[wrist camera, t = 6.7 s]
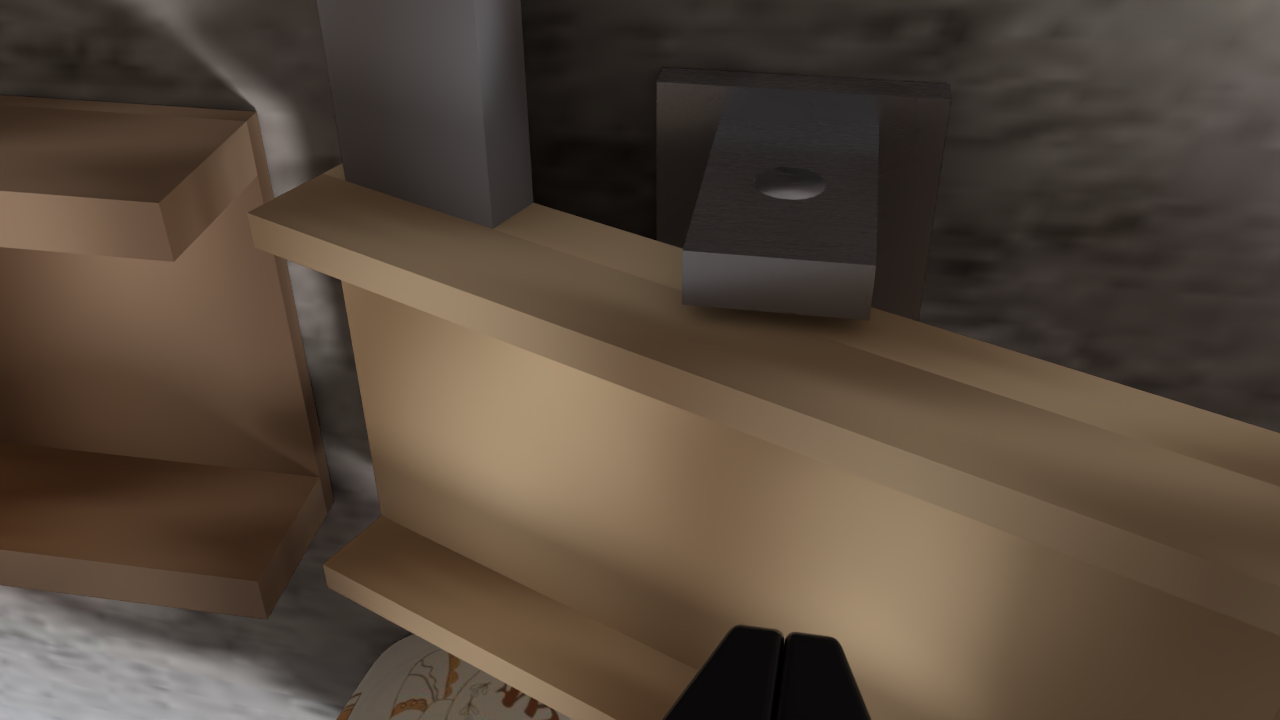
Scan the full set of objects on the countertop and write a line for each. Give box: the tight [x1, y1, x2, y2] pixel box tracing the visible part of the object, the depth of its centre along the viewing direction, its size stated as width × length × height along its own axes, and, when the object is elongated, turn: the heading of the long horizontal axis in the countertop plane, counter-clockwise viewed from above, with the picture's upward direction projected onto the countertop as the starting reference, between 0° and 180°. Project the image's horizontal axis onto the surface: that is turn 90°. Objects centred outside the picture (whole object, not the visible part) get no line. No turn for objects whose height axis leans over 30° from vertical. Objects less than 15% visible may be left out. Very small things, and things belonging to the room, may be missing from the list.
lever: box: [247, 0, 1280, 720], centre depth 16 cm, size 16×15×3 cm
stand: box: [656, 68, 951, 321], centre depth 20 cm, size 4×11×5 cm, turn 1°
